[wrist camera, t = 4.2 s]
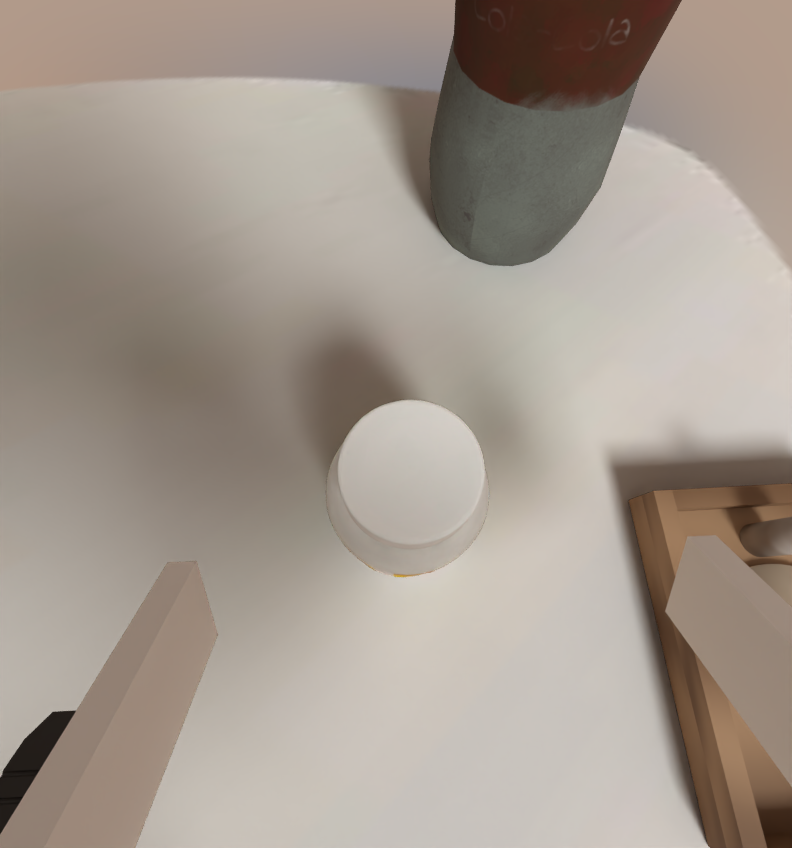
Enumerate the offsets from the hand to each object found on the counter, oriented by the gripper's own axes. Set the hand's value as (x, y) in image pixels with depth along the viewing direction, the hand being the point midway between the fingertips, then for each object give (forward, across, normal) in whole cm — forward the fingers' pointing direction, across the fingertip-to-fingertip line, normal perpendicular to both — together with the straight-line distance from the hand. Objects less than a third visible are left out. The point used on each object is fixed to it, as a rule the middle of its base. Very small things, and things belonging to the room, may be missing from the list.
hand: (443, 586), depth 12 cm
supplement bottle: (+8, -1, -4) cm, 9 cm away
